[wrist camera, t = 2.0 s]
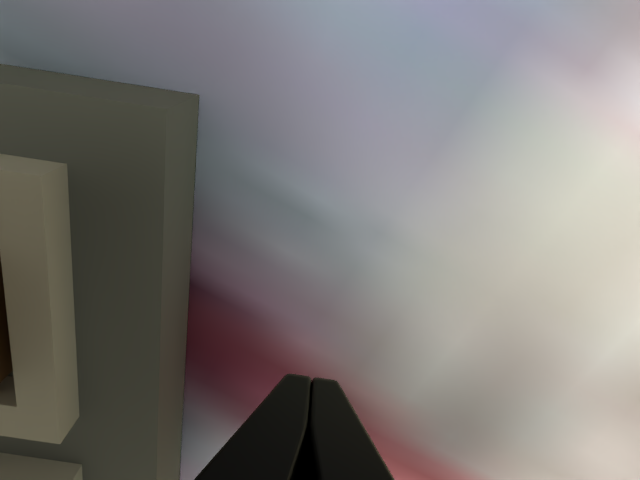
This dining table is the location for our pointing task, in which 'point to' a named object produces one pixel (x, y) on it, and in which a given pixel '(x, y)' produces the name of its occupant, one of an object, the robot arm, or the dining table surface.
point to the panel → (94, 275)
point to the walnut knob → (4, 335)
